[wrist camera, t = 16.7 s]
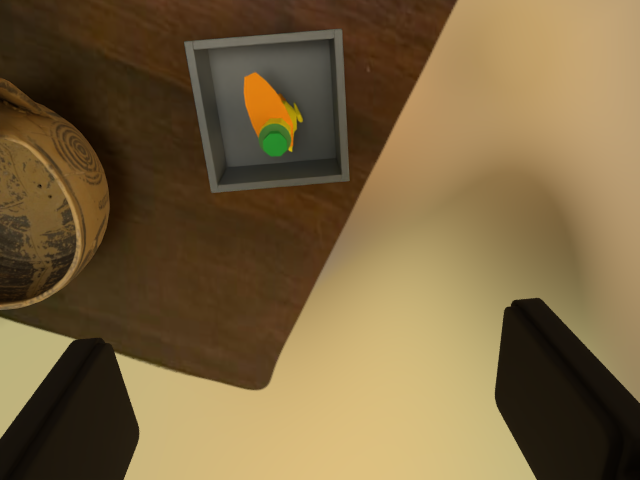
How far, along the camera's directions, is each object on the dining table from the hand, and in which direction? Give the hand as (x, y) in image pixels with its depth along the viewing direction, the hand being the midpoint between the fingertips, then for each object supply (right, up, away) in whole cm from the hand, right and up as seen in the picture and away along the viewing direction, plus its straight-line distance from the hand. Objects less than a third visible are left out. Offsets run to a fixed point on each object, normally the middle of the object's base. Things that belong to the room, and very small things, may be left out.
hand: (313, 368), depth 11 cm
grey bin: (-4, +15, +29) cm, 32 cm away
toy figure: (-4, +15, +28) cm, 32 cm away
